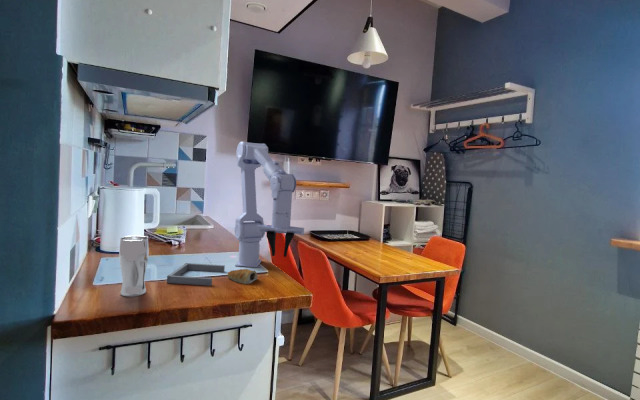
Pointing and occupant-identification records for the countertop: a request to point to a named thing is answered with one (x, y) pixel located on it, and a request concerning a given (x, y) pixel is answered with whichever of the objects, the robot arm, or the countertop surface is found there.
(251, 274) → the pastry
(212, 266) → the tray slot
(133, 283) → the beer glass
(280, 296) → the countertop surface
